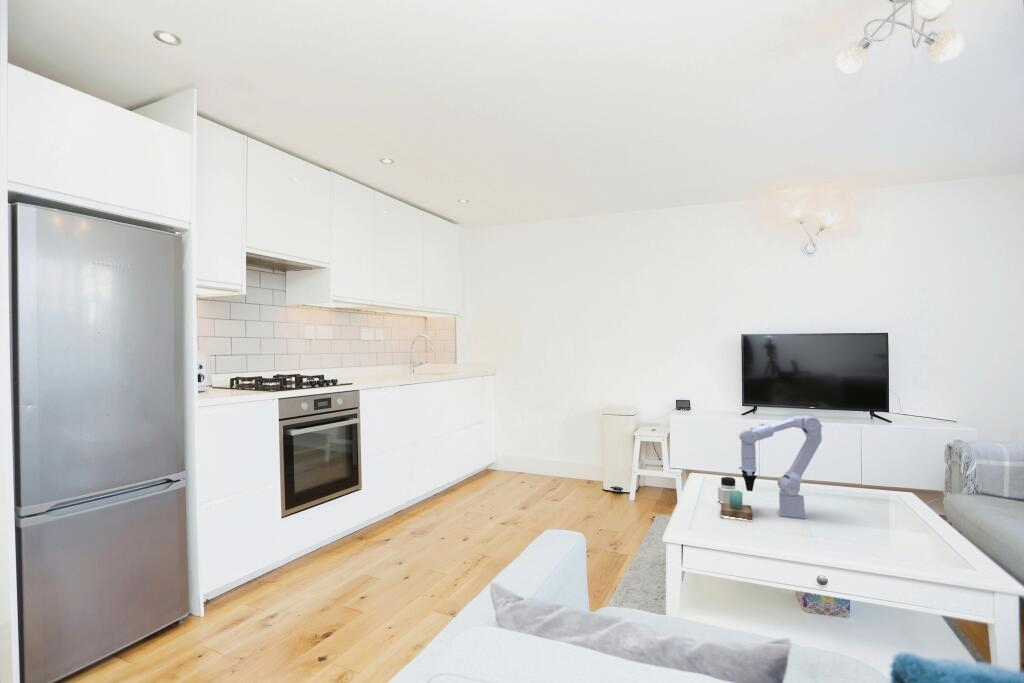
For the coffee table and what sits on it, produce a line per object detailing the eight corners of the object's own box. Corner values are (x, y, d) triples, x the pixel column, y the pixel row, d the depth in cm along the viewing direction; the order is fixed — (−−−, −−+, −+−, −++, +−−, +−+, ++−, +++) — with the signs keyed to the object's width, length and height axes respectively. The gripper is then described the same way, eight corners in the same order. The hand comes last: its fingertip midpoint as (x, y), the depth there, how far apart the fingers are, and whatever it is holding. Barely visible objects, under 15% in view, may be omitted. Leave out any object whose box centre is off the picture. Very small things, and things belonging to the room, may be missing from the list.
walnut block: (751, 514, 223) (750, 505, 224) (752, 522, 212) (752, 513, 212) (721, 511, 228) (721, 502, 228) (721, 519, 217) (721, 509, 217)
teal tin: (742, 507, 221) (742, 491, 222) (742, 510, 217) (742, 494, 217) (730, 505, 224) (729, 490, 224) (729, 508, 219) (729, 493, 219)
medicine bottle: (739, 505, 235) (739, 479, 236) (723, 505, 235) (723, 479, 236) (733, 501, 242) (732, 475, 243) (717, 501, 242) (717, 475, 243)
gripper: (738, 454, 234) (738, 484, 233) (739, 459, 220) (739, 491, 220) (755, 455, 231) (755, 485, 230) (757, 461, 217) (758, 493, 217)
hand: (749, 488), depth 225 cm, fingers open, 7 cm apart
